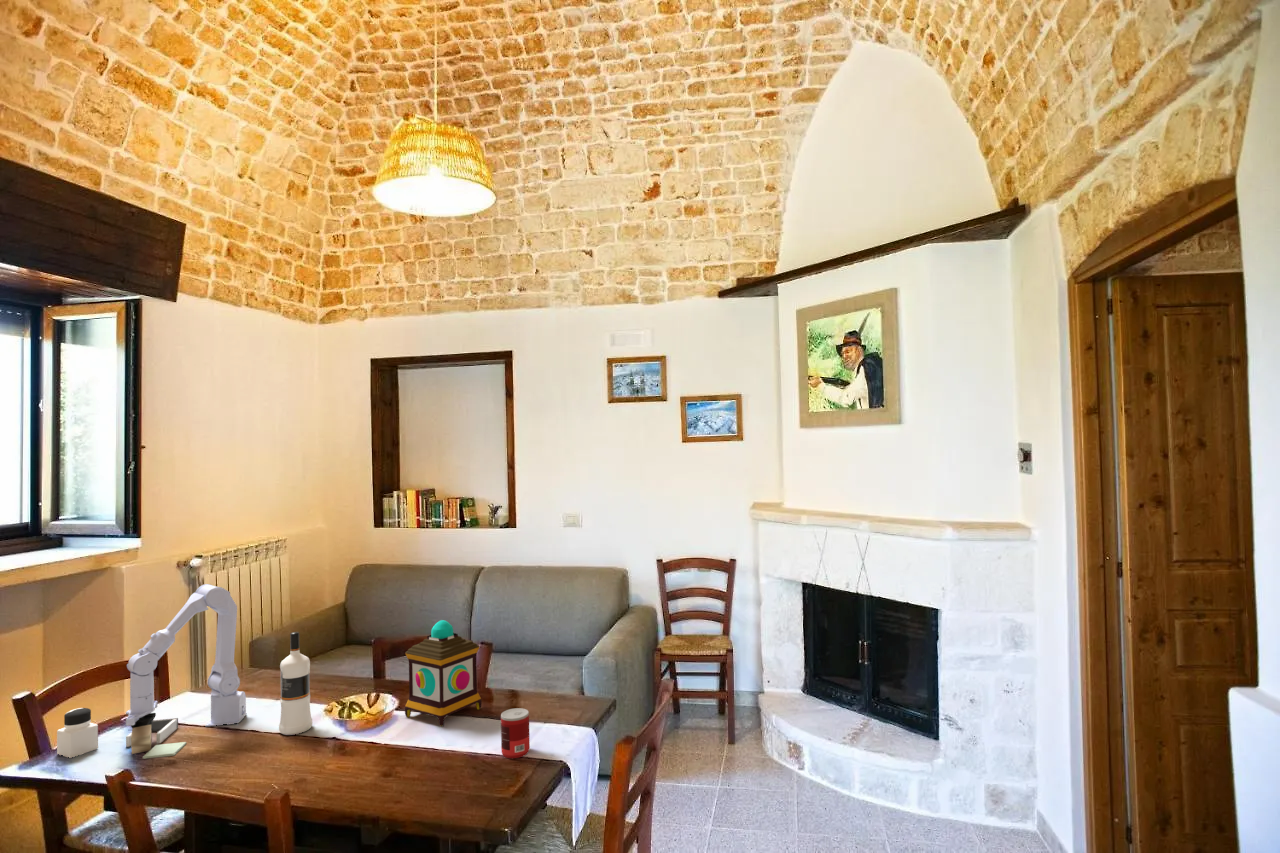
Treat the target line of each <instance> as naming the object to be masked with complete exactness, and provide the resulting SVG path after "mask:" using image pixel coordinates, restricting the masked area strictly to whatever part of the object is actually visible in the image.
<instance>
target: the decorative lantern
mask: <svg viewBox="0 0 1280 853" xmlns="http://www.w3.org/2000/svg"><path fill="white" fill-rule="evenodd" d="M430 632H431V634H430V635H427V637H426V638H424V639H423V640H422V641H420V642H419V643H417V644H414V645H412V646H411V647H410V648H408V649H407V651H405V653H404V654H405V656H406V658H407V659H408V685H409V686H408V690H409V691H408V692H409V694H408V699H407V702H406V704H405V706H404V714H405V716H406V717H407V718H409V717H411V715H412V712H416V713H420V714H424V715H428V716H431V717H434V718H436V719H438V723H439V724H438V725H439V727H443V726H444V725H445V719H446V717H447V716H450V715H452V714H455V713H457V712H459V711H461V710H463V709H466V708H468V707H471V706H473V705H475V708H476V709H477V710H479V711H480V710H481V709H482V698H481V696H480V694H479V692H478V689H477V688H478V686H477V684H478V683H477V655H478V654H477V653H478V651H479V649H480V646H479V645H478V644H477V643H476V642H473V640H470V639H469V640H468V639H466V638H463V637H462V636H459V635H458V633H455V632H454V628H453V626H452V624H450V622H449V621H447V620H443V619H440V620H439V621H437V622H436V623H435V624H434V625H433V627H432V628H431V631H430Z"/></svg>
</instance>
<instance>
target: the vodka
mask: <svg viewBox="0 0 1280 853" xmlns="http://www.w3.org/2000/svg"><path fill="white" fill-rule="evenodd" d="M289 636H290V637H289V640H290V644H289V645H290V648H289V649H290V652H289V653H290V654H289V655H288V656H286V657H285V658H284V659H283V660H281V662H280V665H279V668H280V699H279V701H280V720H279V724H278V731H279V732H280V734H282V735H284V736H294V735H295V734H296V735H300V734H302V732H303V733H306V732H308V731H309V729H311V728H312V726H313V718H312V713H311V691H310V686H311V685H310V684H311V683H310V672H311V669H310V667H311V661H310V658H309V656H306V655H304V653H303V654H302V653H301V652H300V632H299V631H293V632H290V634H289ZM299 733H300V734H299Z"/></svg>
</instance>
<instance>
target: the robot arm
mask: <svg viewBox="0 0 1280 853" xmlns="http://www.w3.org/2000/svg"><path fill="white" fill-rule="evenodd" d="M208 607H209V608H211V609H212V611H214V612H216V613H217V626H216V639H215V640H216V644H215V656H214V657H215V660H214V663H213V665H212V666H211V671H210V675H209V676H208V678H207V686H208V687H209V688H210V689H211V692H210V720H209V721H208V722H207V723H206V724H205V727H216V725H217V726H224V725H223V724H227V725H235V724H234V723H237V724H240V722H241V721H242V720H243V719H244V718H245V717H244V716H245V715H246V714H247V698H246V696H247V695H246V692H245V691H239V690H238V689H239V688H240V684H241V678H240V677H239V676H238V675H239V674H238V667H237V666H236V664H235V663H236V662H235V650H236V649H235V648H236V632H237V619H238V605H237V603H236V601H234V599H233V598H232V595H231V592H230V591H229V590H227V589H225V588H224V587H222V586H216V585H212V584H211V583H208V584H207V583H205V584H202V585H200V586H199V587H198V588H197V589H196V590H195V592H193V593H192V594H191V595H190V596H189V598H188V599H187V601H186V602H185V604H184V605H183V606H182V607H181V609H180V610H179V611H178V612H177V613H176V615H175V616H174V617H173V618H172V620H170V622H169V623H168V624H167V626H166V627H165V628H164V629H160V630H157V631H156V632H155V633H152V634H151V635H150V636H149V637H150V639H149V640H148V641H147V642H146V644H144V646H143V647H142V648H139V649H138V650H137V653H136V654H133V655H131V657H130V658H129V660H128V663H127V664H126V668H127V670H128V671H129V672H130V681H129V696H130V698H129V699H130V700H129V701H130V702H129V703H130V704H129V705H130V706H129V709H128V710H127V711H125V715H128V716H127V718H126V719H125V726H126V727H129V726H130V727H131V729H132V728H135V727H140V726H145V725H151V724H152V722H153V720H155V717H156V716H157V714H156V712H154V711H155V709H157V708H158V700H155V693H154V692H155V690H154V689H155V682H154V681H155V677H154V671H155V670H156V668H157V666H158V661H160V659H161V658H162V657H163V656H164V655H165V653H166V652H167V651H168V650H169V648H170V647H172V645H173V644H174V643H175V641H176V634H178V633H179V631H181V630H182V628H183V627H184V626H185V625H186V624H187V623H188V622H189V621H190V620H191V619H192V618H193V617H194V616H195V615H196V614H197V613H201V612H205V611H208V610H209V608H208ZM246 716H247V715H246Z"/></svg>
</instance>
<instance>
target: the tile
mask: <svg viewBox="0 0 1280 853" xmlns="http://www.w3.org/2000/svg"><path fill="white" fill-rule="evenodd" d="M186 745H187V741H182V742H172V743H163V744H161V743H160V744H155V745H154V746H153V747H151V750H150V751H146V754H144V755H143V756H142V759H143V760H144V759H154V758H164V757H165V758H166V757H171V756H173V757H174V756H176V755H177V754H178V753H179V751H181V750H182V749H183V748H184V747H185V746H186Z"/></svg>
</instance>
